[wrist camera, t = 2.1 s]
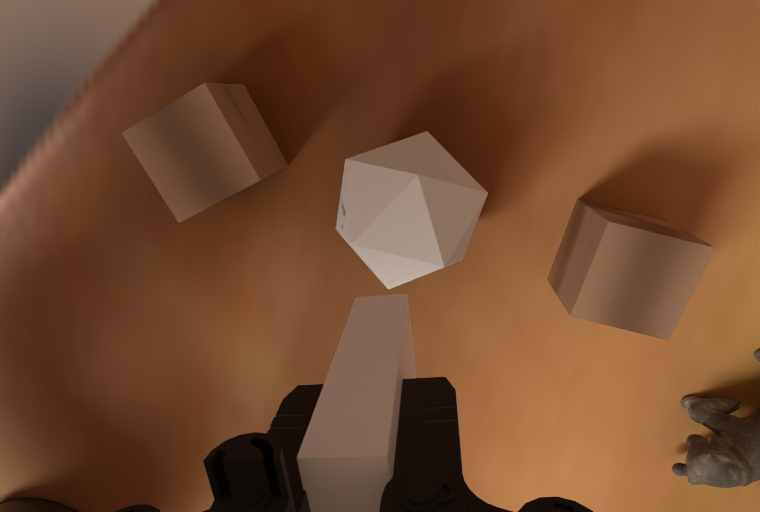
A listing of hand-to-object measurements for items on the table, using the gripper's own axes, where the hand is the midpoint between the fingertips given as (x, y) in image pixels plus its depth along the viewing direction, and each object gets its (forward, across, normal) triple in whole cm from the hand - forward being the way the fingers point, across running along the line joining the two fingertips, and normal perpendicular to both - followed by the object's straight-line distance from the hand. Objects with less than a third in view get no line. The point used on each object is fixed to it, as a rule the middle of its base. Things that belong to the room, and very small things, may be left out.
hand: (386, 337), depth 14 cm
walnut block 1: (+20, +12, -5) cm, 24 cm away
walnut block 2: (+20, -13, +5) cm, 24 cm away
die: (+20, 0, 0) cm, 20 cm away
